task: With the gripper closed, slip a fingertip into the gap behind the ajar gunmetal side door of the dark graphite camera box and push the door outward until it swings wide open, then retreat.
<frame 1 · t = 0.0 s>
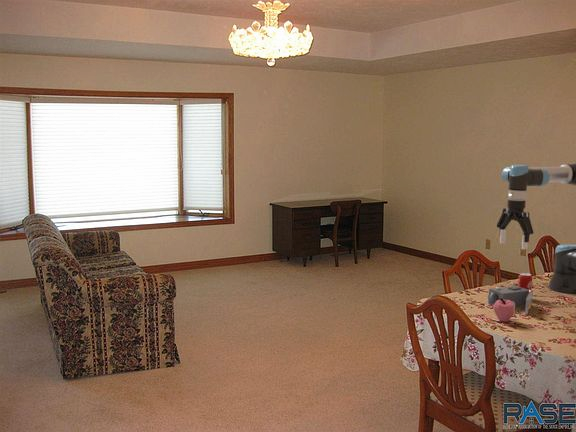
hand: (513, 246, 279), 28 cm above the table, fingers open, 13 cm apart
side door: (529, 302, 277), point 4 cm above the table, hinge at 40.0°
apple: (503, 321, 262), on the table
beverage can: (523, 298, 297), on the table
camera body: (508, 304, 286), on the table
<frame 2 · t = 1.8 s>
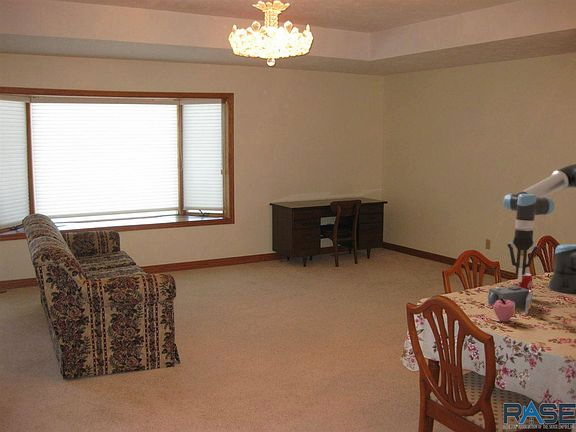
hand: (519, 281, 274), 14 cm above the table, fingers closed
nothing on the table moved.
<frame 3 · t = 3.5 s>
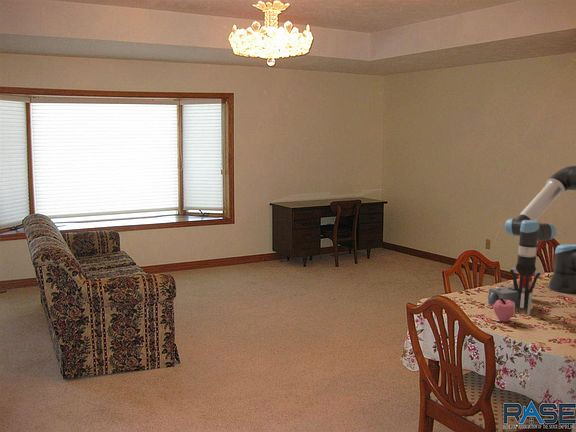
hand: (521, 307, 275), 2 cm above the table, fingers closed
side door: (530, 302, 277), point 4 cm above the table, hinge at 43.5°, touching gripper
everything else where it was.
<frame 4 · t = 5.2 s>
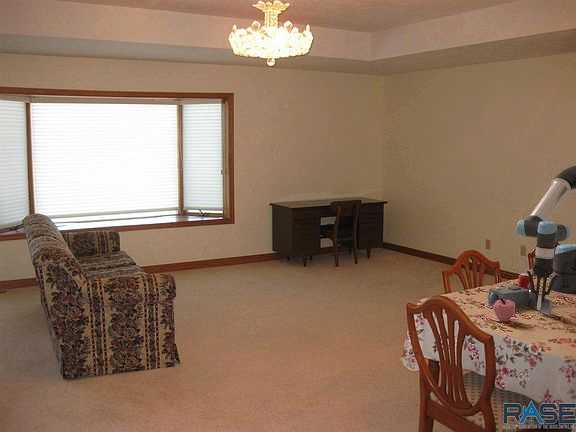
hand: (538, 309, 272), 2 cm above the table, fingers closed
side door: (540, 302, 277), point 4 cm above the table, hinge at 76.9°
everything else where it was.
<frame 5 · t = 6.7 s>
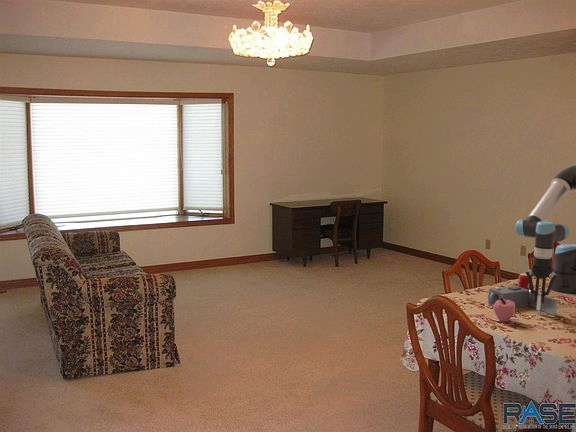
hand: (538, 309, 272), 2 cm above the table, fingers closed
side door: (542, 302, 277), point 4 cm above the table, hinge at 86.3°
everything else where it was.
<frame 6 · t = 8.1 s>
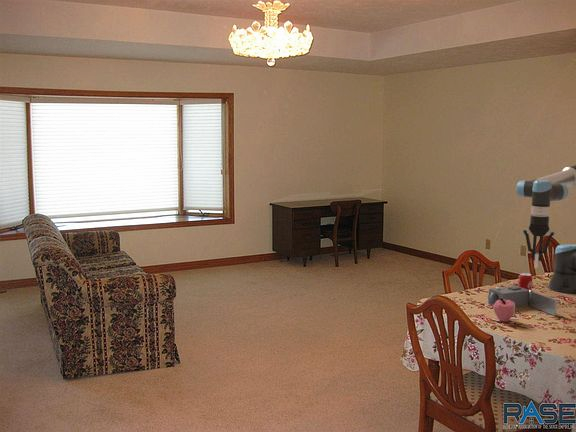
hand: (536, 267, 275), 19 cm above the table, fingers closed
nothing on the table moved.
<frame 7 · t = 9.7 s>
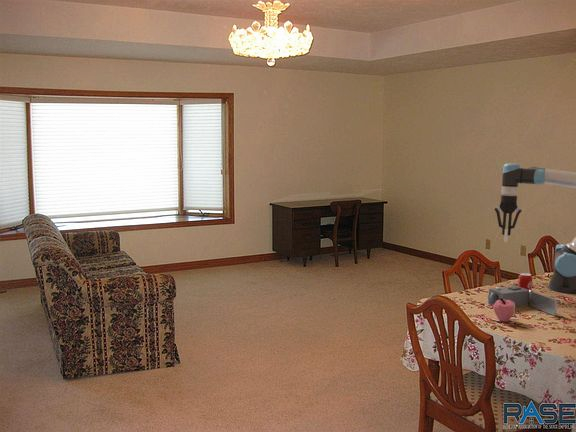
hand: (505, 241, 310), 24 cm above the table, fingers closed
nothing on the table moved.
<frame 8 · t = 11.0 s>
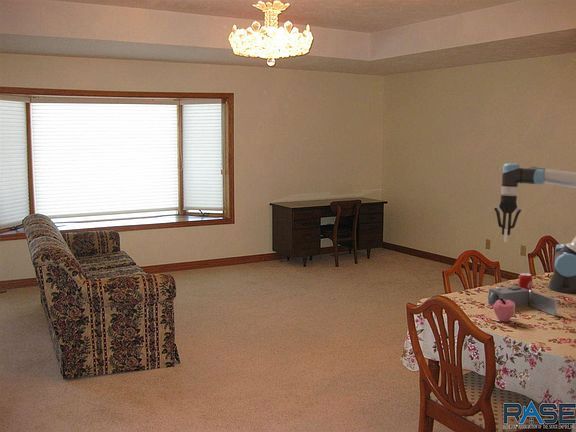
hand: (505, 241, 310), 24 cm above the table, fingers closed
nothing on the table moved.
at the end: side door at +86° (first picture: +40°) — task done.
